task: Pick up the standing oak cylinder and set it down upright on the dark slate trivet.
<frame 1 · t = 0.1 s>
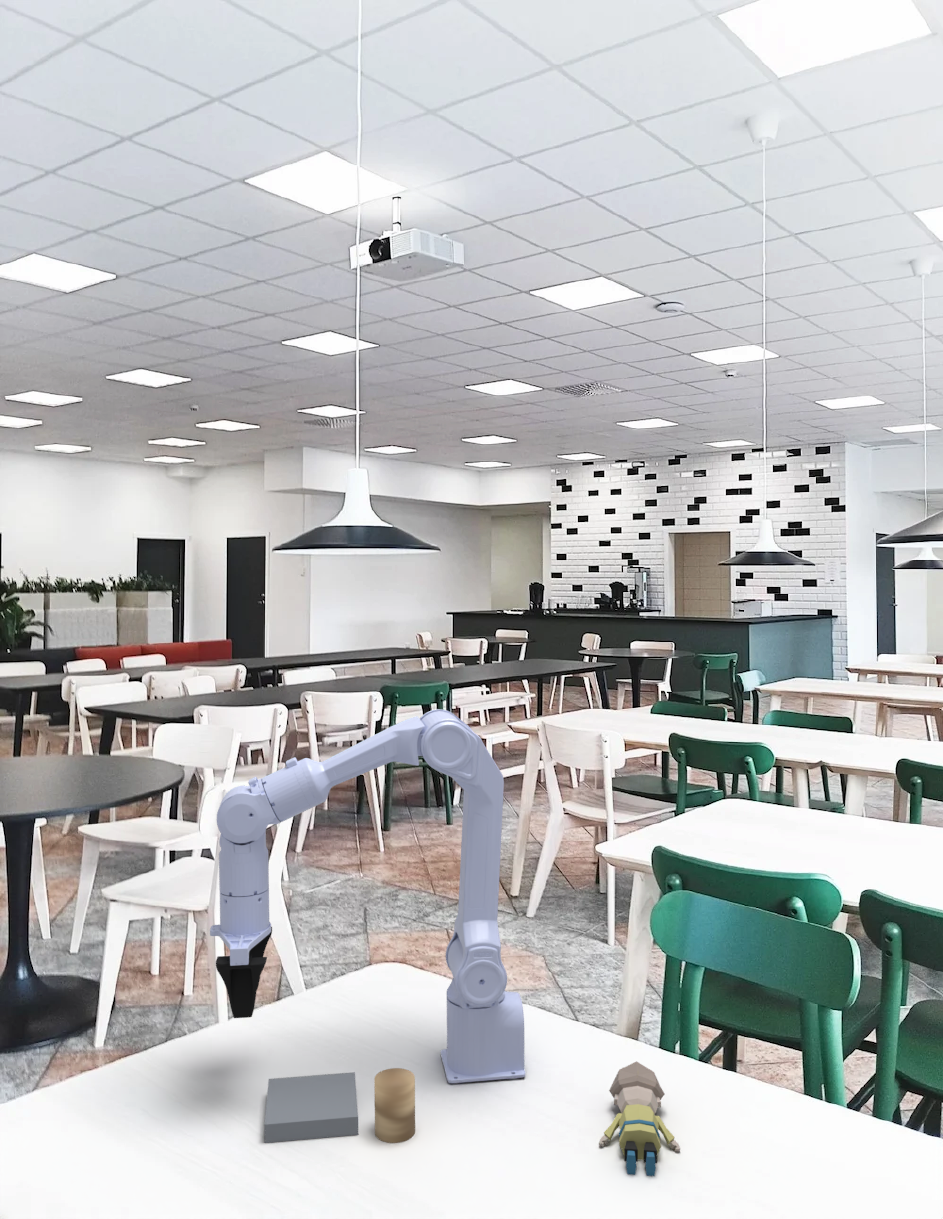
hand: (246, 1002, 121), 10 cm above the table, fingers open, 7 cm apart
oak cylinder: (395, 1131, 112), on the table
toy: (638, 1139, 111), on the table
slate trivet: (312, 1114, 115), on the table
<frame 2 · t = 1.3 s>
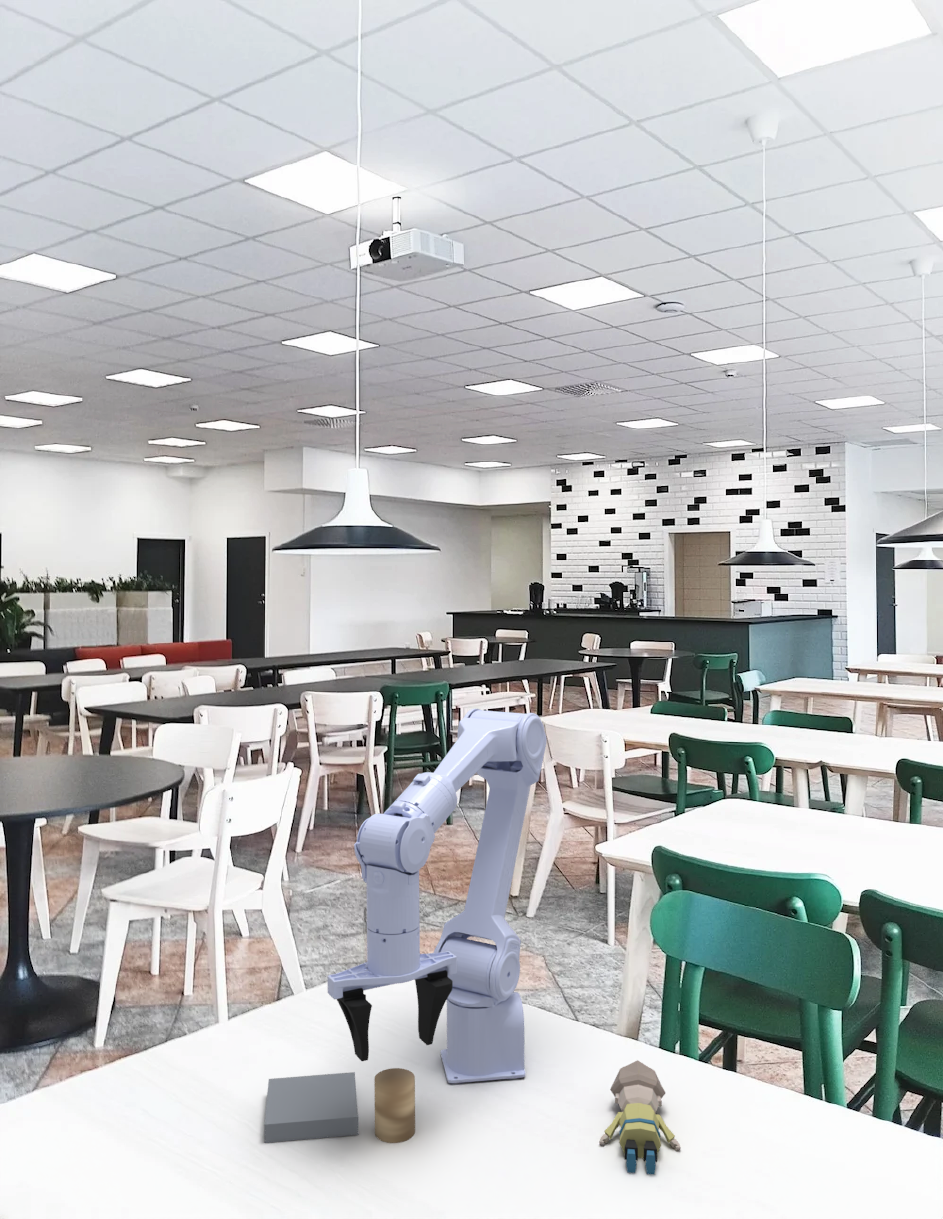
hand: (394, 1048, 111), 9 cm above the table, fingers open, 7 cm apart
nothing on the table moved.
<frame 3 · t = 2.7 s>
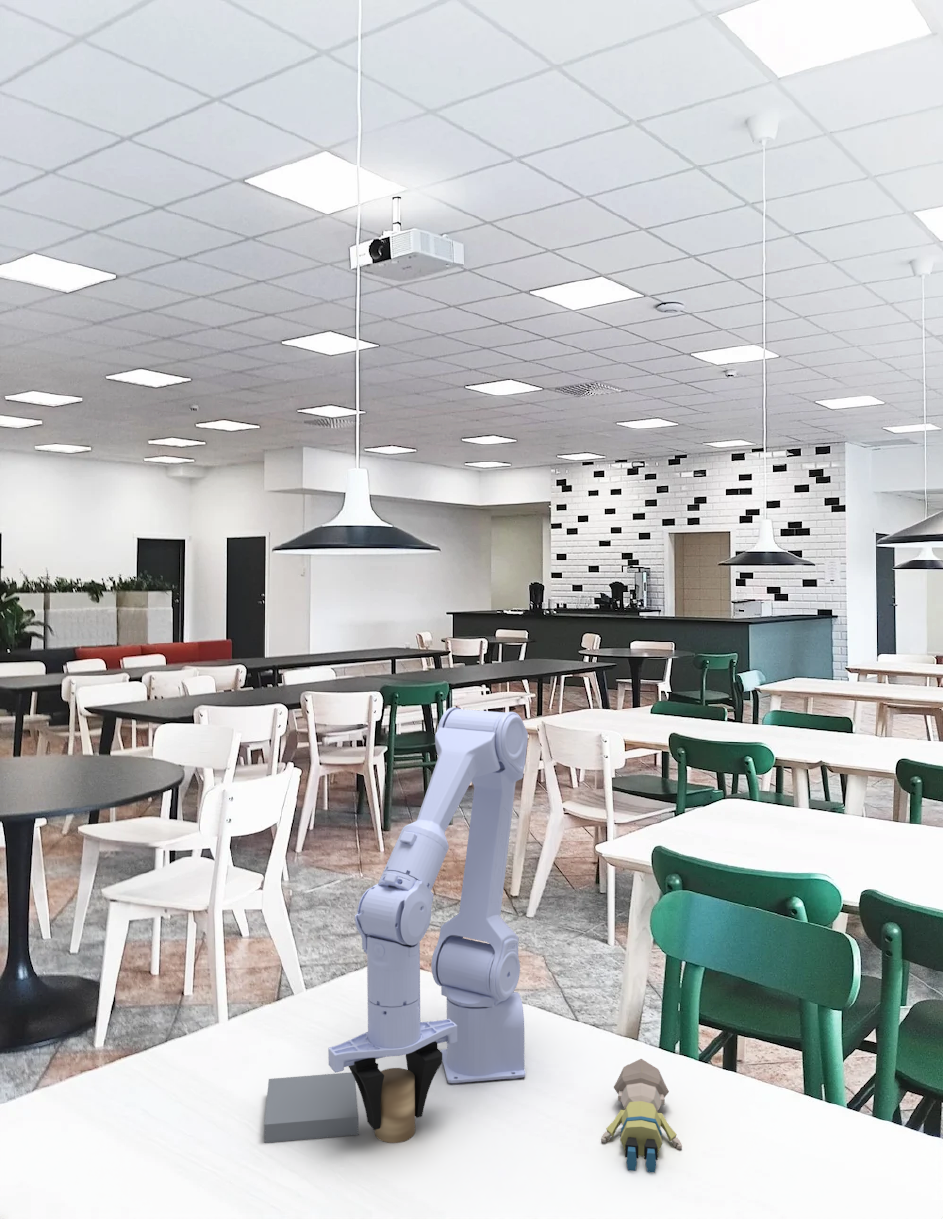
hand: (395, 1118, 112), 1 cm above the table, fingers closed on oak cylinder, 4 cm apart
oak cylinder: (395, 1131, 112), on the table, touching gripper
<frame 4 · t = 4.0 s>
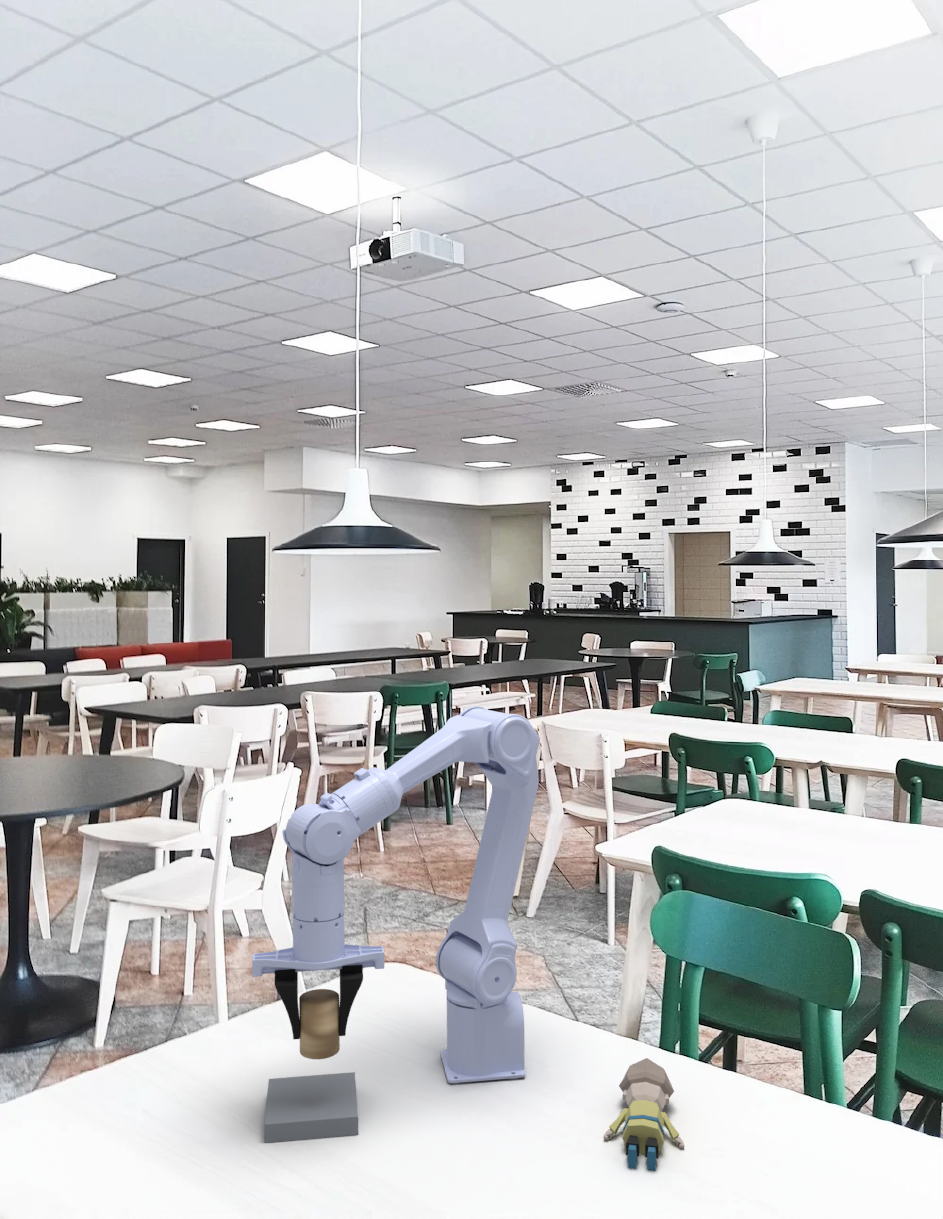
hand: (319, 1033, 114), 9 cm above the table, fingers closed on oak cylinder, 4 cm apart
oak cylinder: (319, 1049, 114), point 8 cm above the table, touching gripper
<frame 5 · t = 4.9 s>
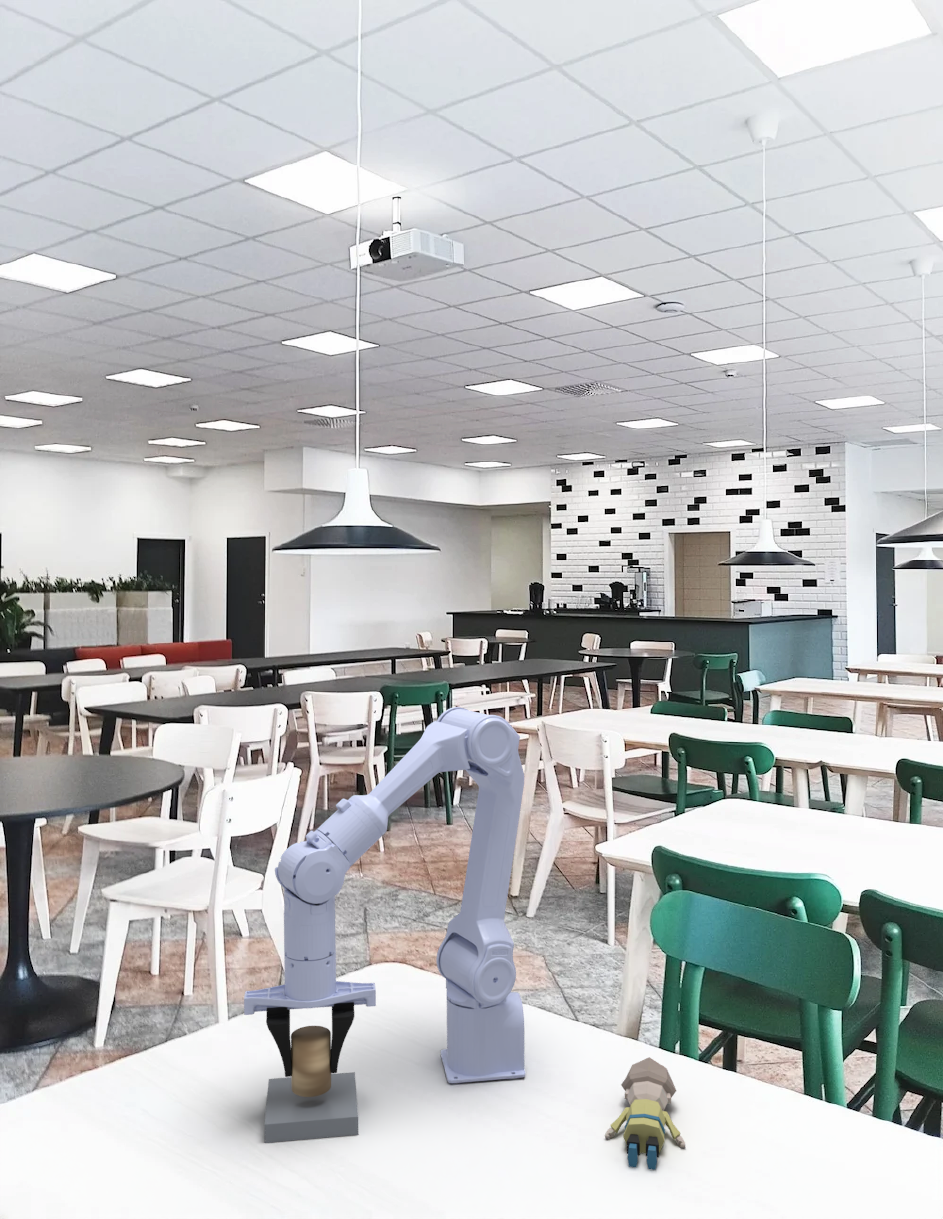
hand: (311, 1070, 115), 5 cm above the table, fingers closed on oak cylinder, 4 cm apart
oak cylinder: (311, 1086, 115), point 3 cm above the table, touching gripper
when the fingers open (5 cm above the table, at t = 5.4 s): oak cylinder stays where it is, resting on slate trivet.
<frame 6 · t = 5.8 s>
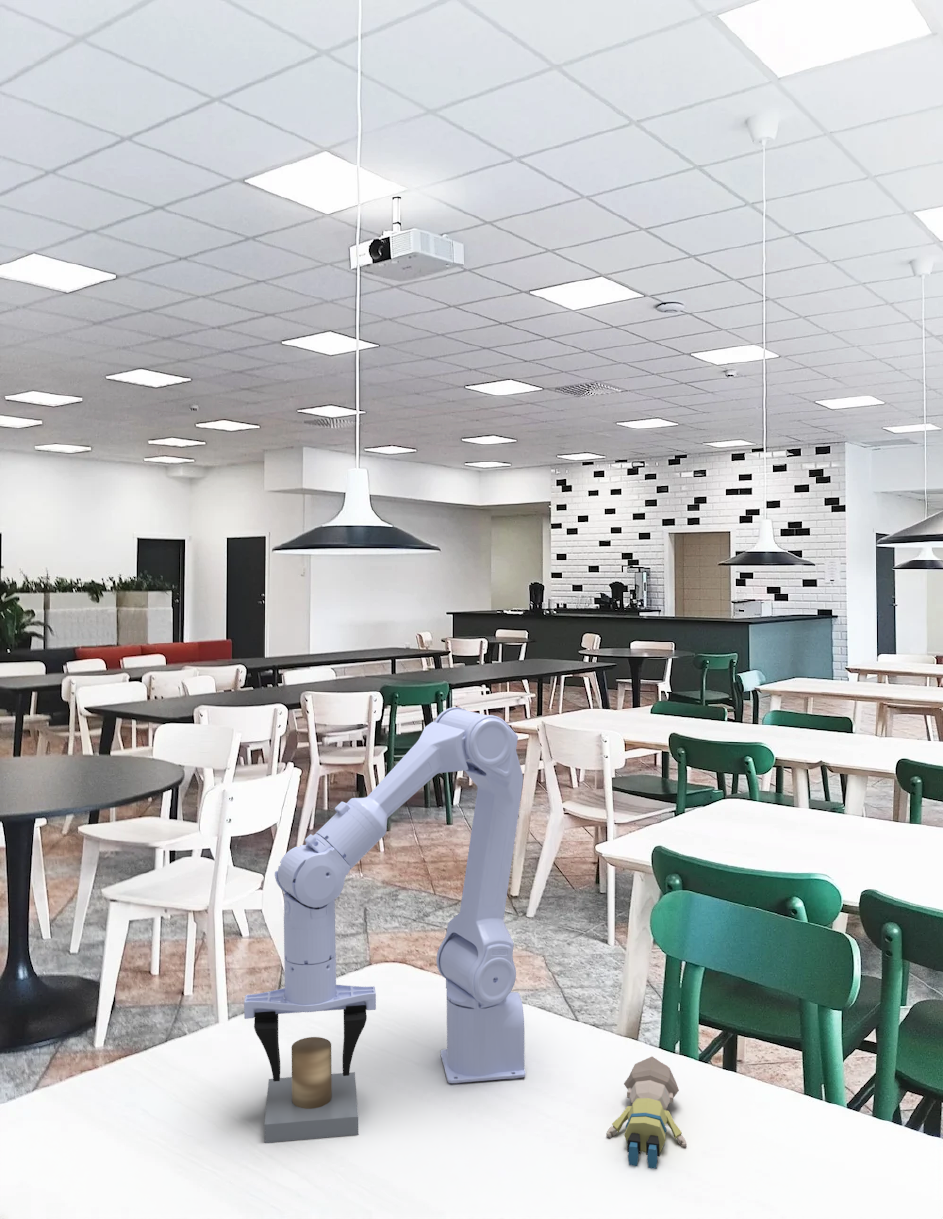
hand: (311, 1074, 115), 5 cm above the table, fingers open, 7 cm apart
oak cylinder: (311, 1098, 115), point 2 cm above the table, touching slate trivet
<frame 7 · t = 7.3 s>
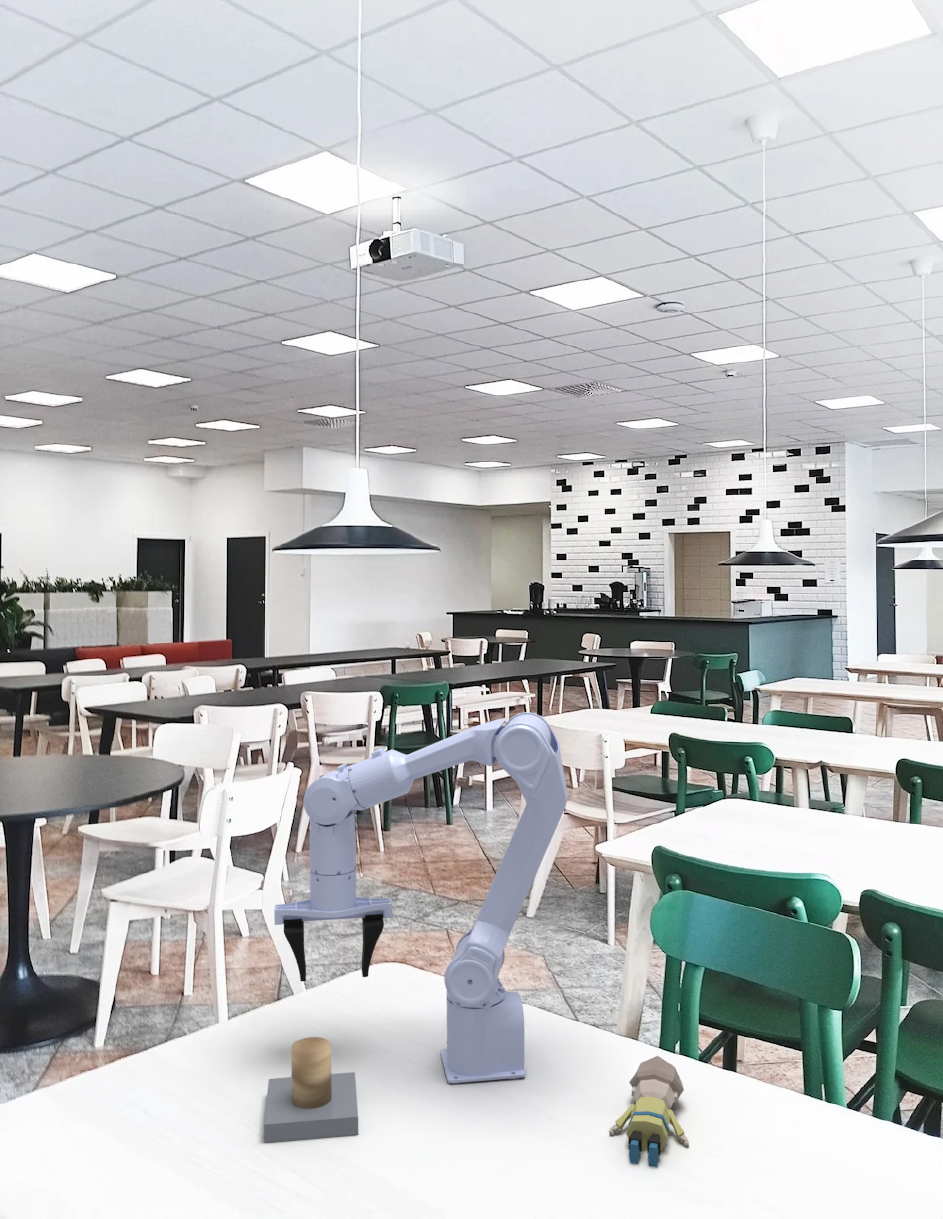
hand: (334, 976, 128), 10 cm above the table, fingers open, 7 cm apart
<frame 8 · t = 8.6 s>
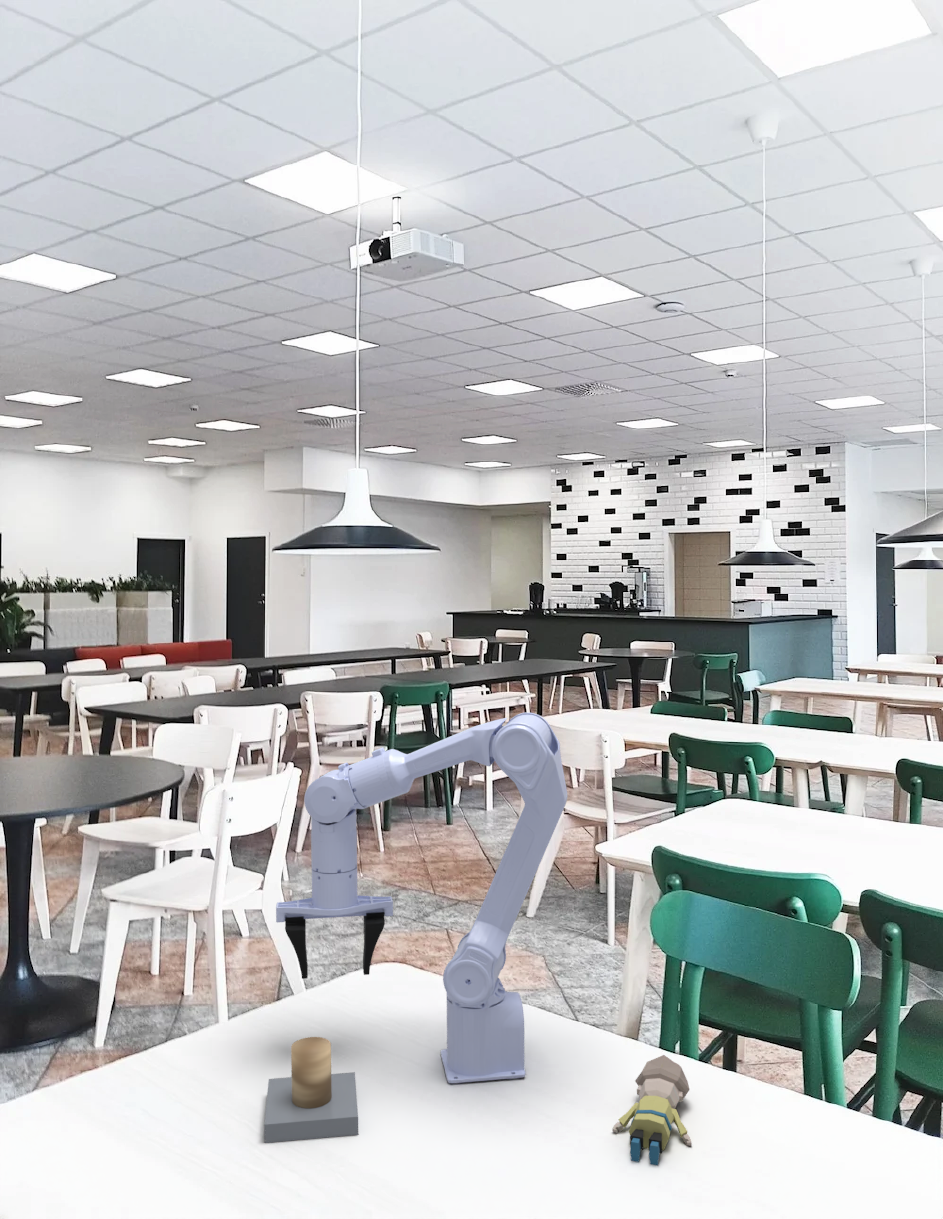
hand: (335, 973, 129), 10 cm above the table, fingers open, 7 cm apart
at the end: oak cylinder inside the target area on the slate trivet (0.3 cm from its centre), point 2.0 cm above the slate trivet's base; oak cylinder tilted 1°; the gripper is holding nothing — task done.
